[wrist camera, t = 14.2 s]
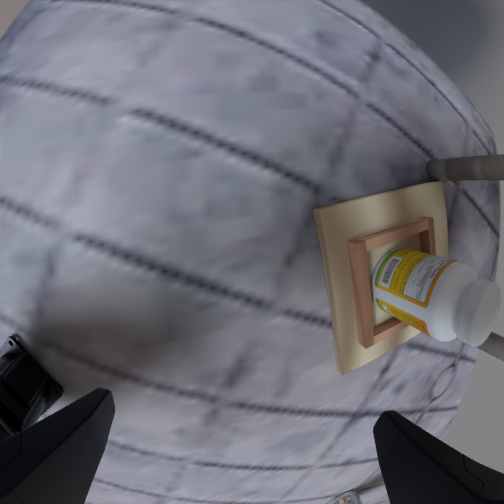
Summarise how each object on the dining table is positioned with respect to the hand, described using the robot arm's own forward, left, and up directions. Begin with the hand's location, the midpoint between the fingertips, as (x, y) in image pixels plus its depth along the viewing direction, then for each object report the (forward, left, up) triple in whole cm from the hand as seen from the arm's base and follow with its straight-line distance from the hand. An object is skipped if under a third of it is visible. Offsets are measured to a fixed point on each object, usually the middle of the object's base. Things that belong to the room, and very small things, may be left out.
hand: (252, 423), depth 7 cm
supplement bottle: (+12, -8, -11) cm, 18 cm away
